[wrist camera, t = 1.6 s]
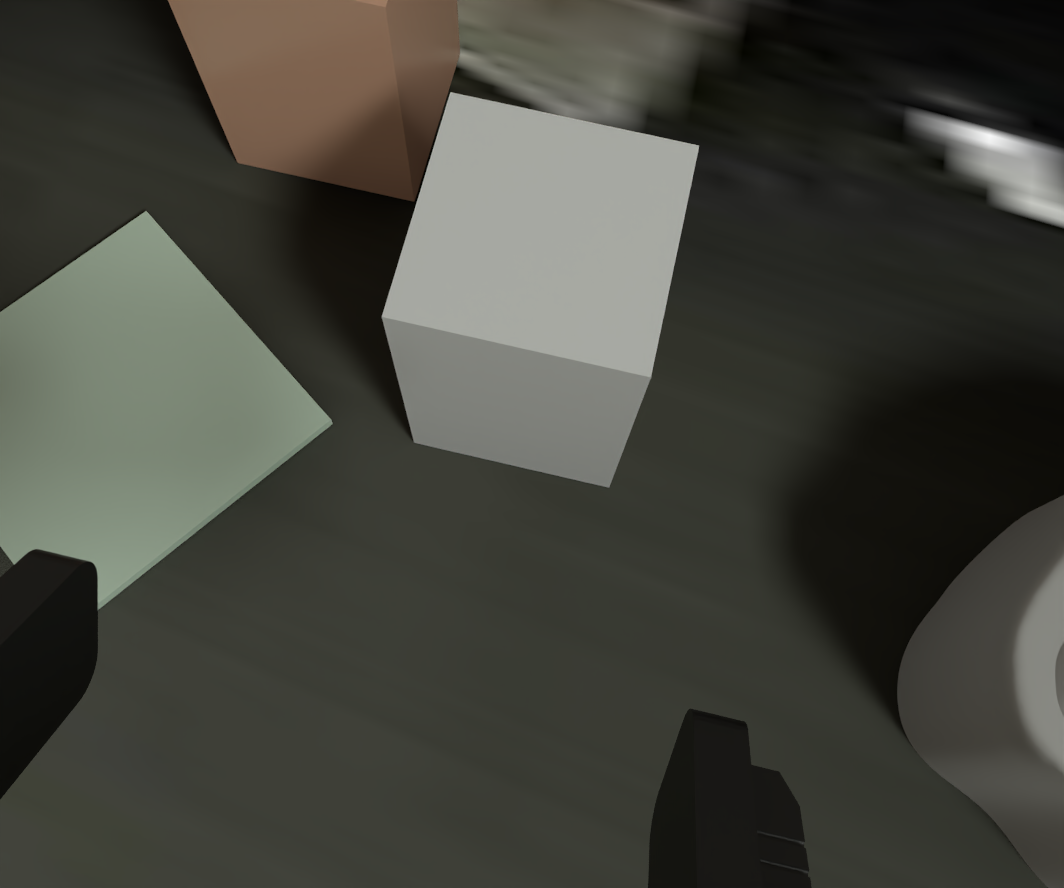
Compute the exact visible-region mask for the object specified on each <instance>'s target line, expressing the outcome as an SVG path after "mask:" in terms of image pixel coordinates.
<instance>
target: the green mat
mask: <svg viewBox="0 0 1064 888" xmlns="http://www.w3.org/2000/svg"><path fill="white" fill-rule="evenodd" d="M332 424H333V423H332V421H331V419H330V418H329V417H328V416H327V415H326V413H325V412H324V411H323V410H322V409H321V408H320V407H319V406H318V404H317V403H316V402H315V401H314V400H313V399H312V398H311V397H310V395H309V394H308V393H307V392H306V391H305V390H304V389H303V387H302V386H301V385H300V384H299V383H298V382H297V381H296V380H295V378H294V377H293V376H292V375H291V374H290V373H289V372H288V371H287V369H286V368H285V367H284V366H283V365H282V364H281V363H280V362H279V360H278V359H277V358H276V357H275V356H274V355H273V354H272V352H271V351H270V350H269V349H268V348H267V347H266V346H265V345H264V343H263V342H262V341H261V340H260V339H259V338H258V337H257V336H256V334H255V333H254V332H253V331H252V330H251V329H250V328H249V327H248V325H247V324H246V323H245V322H244V321H243V320H242V319H241V317H240V316H239V315H238V314H237V313H236V312H235V311H234V310H233V308H232V307H231V306H230V305H229V304H228V303H227V302H226V301H225V299H224V298H223V297H222V296H221V295H220V294H219V293H218V291H217V290H216V289H215V288H214V287H213V286H212V285H211V284H210V282H209V281H208V280H207V279H206V278H205V277H204V276H203V275H202V273H201V272H200V271H199V270H198V269H197V268H196V267H195V266H194V264H193V263H192V262H191V261H190V260H189V259H188V258H187V256H186V255H185V254H184V253H183V252H182V251H181V250H180V249H179V247H178V246H177V245H176V244H175V243H174V242H173V241H172V240H171V238H170V237H169V236H168V235H167V234H166V233H165V232H164V231H163V229H162V228H161V227H160V226H159V225H158V224H157V223H156V221H155V220H154V219H153V218H152V217H151V216H150V215H149V214H148V212H147V211H145V212H144V213H142V214H141V215H140V216H138V217H137V218H135V219H134V220H132V221H131V222H129V223H128V224H127V225H125V226H124V227H122V228H121V229H119V230H118V231H117V232H115V233H114V234H112V235H111V236H109V237H108V238H106V239H105V240H104V241H102V242H101V243H99V244H98V245H96V246H95V247H93V248H92V249H91V250H89V251H88V252H86V253H85V254H83V255H82V256H80V257H79V258H78V259H76V260H75V261H73V262H72V263H70V264H69V265H68V266H66V267H65V268H63V269H62V270H60V271H59V272H57V273H56V274H55V275H53V276H52V277H50V278H49V279H47V280H46V281H44V282H43V283H42V284H40V285H39V286H37V287H36V288H34V289H33V290H32V291H30V292H29V293H27V294H26V295H24V296H23V297H21V298H20V299H19V300H17V301H16V302H14V303H13V304H11V305H10V306H8V307H7V308H6V309H4V310H3V311H1V312H0V547H1V548H2V549H3V551H4V552H5V553H6V554H7V556H8V557H9V558H10V560H11V561H12V562H13V564H14V565H15V564H16V563H17V562H18V561H19V560H20V559H21V558H22V557H23V556H24V555H26V554H27V553H28V552H30V551H32V550H34V549H40V550H44V551H49V552H53V553H57V554H61V555H65V556H69V557H73V558H77V559H82V560H86V561H90V562H92V563H93V564H94V565H95V567H96V569H97V575H98V609H100V608H101V607H102V606H104V605H105V604H106V603H107V602H109V601H110V600H111V599H112V598H114V597H115V596H116V595H117V594H119V593H120V592H121V591H122V590H124V589H125V588H126V587H128V586H129V585H130V584H131V583H133V582H134V581H135V580H136V579H138V578H139V577H140V576H141V575H143V574H144V573H145V572H146V571H148V570H149V569H150V568H152V567H153V566H154V565H155V564H157V563H158V562H159V561H160V560H162V559H163V558H164V557H165V556H167V555H168V554H169V553H170V552H172V551H173V550H174V549H175V548H177V547H178V546H179V545H181V544H182V543H183V542H184V541H186V540H187V539H188V538H189V537H191V536H192V535H193V534H194V533H196V532H197V531H198V530H199V529H201V528H202V527H203V526H205V525H206V524H207V523H208V522H210V521H211V520H212V519H213V518H215V517H216V516H217V515H218V514H220V513H221V512H222V511H223V510H225V509H226V508H227V507H229V506H230V505H231V504H232V503H234V502H235V501H236V500H237V499H239V498H240V497H241V496H242V495H244V494H245V493H246V492H247V491H249V490H250V489H251V488H252V487H254V486H255V485H256V484H258V483H259V482H260V481H261V480H263V479H264V478H265V477H266V476H268V475H269V474H270V473H271V472H273V471H274V470H275V469H276V468H278V467H279V466H280V465H282V464H283V463H284V462H285V461H287V460H288V459H289V458H290V457H292V456H293V455H294V454H295V453H297V452H298V451H299V450H300V449H302V448H303V447H304V446H305V445H307V444H308V443H309V442H311V441H312V440H313V439H314V438H316V437H317V436H318V435H319V434H321V433H322V432H323V431H324V430H326V429H327V428H328V427H329V426H331V425H332Z"/></svg>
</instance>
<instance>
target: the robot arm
mask: <svg viewBox="0 0 1064 888" xmlns="http://www.w3.org/2000/svg"><path fill="white" fill-rule="evenodd" d="M97 653H98V575H97V569H96V567H95V565H94V564H93V563H92V562H90V561H86V560H82V559H77V558H73V557H69V556H65V555H61V554H57V553H53V552H49V551H44V550H40V549H34V550H32V551H30V552H28V553H27V554H26V555H24V556H23V557H22V558H21V559H20V560H19V561H18V562H17V563H16V564H15V565H13V566H12V567H11V568H10V569H9V570H8V571H7V572H6V573H5V574H4V575H2V576H1V577H0V799H1V798H2V796H3V795H4V794H5V793H6V792H7V790H8V789H9V788H10V787H11V785H12V784H13V783H14V782H15V780H16V779H17V778H18V777H19V775H20V774H21V773H22V772H23V770H24V769H25V768H26V767H27V765H28V764H29V763H30V762H31V761H32V759H33V758H34V757H35V756H36V754H37V753H38V752H39V751H40V749H41V748H42V747H43V746H44V744H45V743H46V742H47V741H48V739H49V738H50V737H51V736H52V734H53V733H54V732H55V731H56V729H57V728H58V727H59V726H60V725H61V723H62V722H63V721H64V720H65V718H66V717H67V716H68V715H69V713H70V712H71V711H72V710H73V708H74V707H75V706H76V705H77V703H78V702H79V701H80V699H81V698H82V697H83V695H84V693H85V692H86V690H87V688H88V686H89V683H90V681H91V679H92V676H93V673H94V670H95V666H96V661H97ZM804 842H805V839H804V832H803V826H802V819H801V812H800V806H799V804H798V802H797V801H796V799H795V797H794V796H793V794H792V792H791V791H790V789H789V787H788V786H787V784H786V782H785V781H784V779H783V777H782V776H781V774H780V772H778V771H774V770H770V769H766V768H762V767H758V766H753V765H751V758H750V747H749V736H748V728H747V724H746V723H745V722H744V721H740V720H735V719H731V718H727V717H723V716H719V715H715V714H711V713H706V712H702V711H698V710H694V709H689V710H688V711H687V713H686V715H685V717H684V720H683V723H682V726H681V728H680V731H679V734H678V737H677V740H676V743H675V746H674V749H673V752H672V755H671V758H670V761H669V763H668V766H667V769H666V772H665V775H664V778H663V781H662V784H661V787H660V790H659V793H658V796H657V800H656V804H655V808H654V813H653V819H652V825H651V833H650V847H649V879H648V888H811V881H810V877H808V872H809V867H808V860H807V853H806V848H804Z"/></svg>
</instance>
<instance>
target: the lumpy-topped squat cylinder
mask: <svg viewBox="0 0 1064 888" xmlns="http://www.w3.org/2000/svg"><path fill="white" fill-rule="evenodd" d="M897 699H898V709H899V715H900V719H901V723H902V726H903V729H904V731H905V734H906V736H907V738H908V740H909V741H910V743H911V745H912V746H913V748H914V749H915V750H916V752H917V753H918V754H919V755H920V757H921V758H922V759H923V760H924V761H925V762H926V763H927V764H928V765H929V766H930V767H931V768H932V769H933V770H935V771H936V772H937V773H938V774H939V775H940V776H942V777H943V778H944V779H946V780H947V781H948V782H949V783H951V784H952V785H953V786H955V787H956V788H957V789H959V790H960V791H961V792H963V793H964V794H965V795H967V796H968V797H969V798H970V799H972V800H973V801H974V802H975V803H976V804H977V805H979V806H980V807H981V808H982V809H983V810H984V811H985V812H986V813H987V814H988V815H989V816H990V817H991V818H992V819H993V820H994V822H995V823H996V824H997V825H998V826H999V827H1000V829H1001V830H1002V831H1003V832H1004V834H1005V835H1006V836H1007V838H1008V839H1009V840H1010V842H1011V843H1012V844H1013V846H1014V847H1015V849H1016V850H1017V851H1018V853H1019V854H1020V855H1021V857H1022V858H1023V859H1024V861H1025V862H1026V863H1027V865H1028V866H1029V867H1030V868H1031V870H1032V871H1033V872H1034V873H1035V874H1036V875H1037V877H1038V878H1039V879H1040V880H1041V881H1042V882H1043V883H1044V884H1045V885H1046V886H1047V887H1048V888H1064V495H1063V496H1061V497H1059V498H1057V499H1055V500H1053V501H1051V502H1049V503H1047V504H1045V505H1043V506H1041V507H1039V508H1037V509H1035V510H1033V511H1031V512H1029V513H1027V514H1026V515H1024V516H1022V517H1021V518H1020V519H1018V520H1017V521H1016V522H1014V523H1013V524H1012V525H1011V526H1009V527H1008V528H1007V529H1006V530H1005V531H1003V532H1002V533H1001V534H1000V535H999V536H998V537H996V538H995V539H994V540H993V541H992V542H991V543H990V544H989V545H988V546H987V547H986V548H985V549H983V550H982V551H981V552H980V553H979V554H978V555H977V556H976V557H975V558H974V559H973V560H972V561H971V562H970V563H969V564H968V565H967V566H966V567H965V569H964V570H963V571H962V572H961V573H960V574H959V575H958V576H957V577H956V578H955V579H954V581H953V582H952V583H951V584H950V585H949V587H948V588H947V589H946V590H945V592H944V593H943V595H942V596H941V597H940V599H939V600H938V601H937V603H936V604H935V605H934V606H933V608H932V609H931V610H930V611H929V613H928V614H927V615H926V616H925V618H924V619H923V620H922V622H921V623H920V624H919V626H918V627H917V629H916V630H915V632H914V634H913V635H912V637H911V639H910V641H909V643H908V645H907V647H906V650H905V652H904V655H903V658H902V661H901V665H900V669H899V675H898V685H897Z"/></svg>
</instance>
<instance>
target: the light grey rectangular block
mask: <svg viewBox="0 0 1064 888" xmlns="http://www.w3.org/2000/svg"><path fill="white" fill-rule="evenodd" d="M698 149H699V146H698V145H694V144H689V143H684V142H680V141H675V140H670V139H666V138H661V137H656V136H652V135H647V134H642V133H638V132H633V131H628V130H624V129H619V128H614V127H610V126H605V125H601V124H596V123H591V122H587V121H582V120H577V119H573V118H568V117H563V116H559V115H554V114H549V113H545V112H540V111H535V110H531V109H526V108H521V107H517V106H512V105H507V104H503V103H498V102H494V101H489V100H484V99H480V98H475V97H470V96H466V95H461V94H456V93H452V92H450V95H449V99H448V102H447V105H446V108H445V112H444V115H443V118H442V121H441V125H440V128H439V131H438V134H437V138H436V141H435V144H434V148H433V151H432V154H431V157H430V161H429V164H428V167H427V170H426V174H425V177H424V180H423V183H422V187H421V190H420V193H419V197H418V200H417V203H416V206H415V210H414V213H413V216H412V219H411V223H410V226H409V229H408V232H407V236H406V239H405V242H404V246H403V249H402V252H401V255H400V259H399V262H398V265H397V268H396V272H395V275H394V278H393V281H392V285H391V288H390V291H389V295H388V298H387V301H386V304H385V308H384V311H383V314H382V320H383V324H384V328H385V332H386V335H387V339H388V343H389V347H390V351H391V355H392V359H393V363H394V367H395V370H396V374H397V378H398V382H399V386H400V390H401V394H402V398H403V401H404V405H405V409H406V413H407V417H408V421H409V425H410V429H411V433H412V436H413V440H414V443H418V444H422V445H426V446H431V447H435V448H439V449H444V450H448V451H452V452H457V453H461V454H465V455H470V456H474V457H478V458H483V459H487V460H491V461H496V462H500V463H504V464H509V465H513V466H518V467H522V468H526V469H531V470H535V471H539V472H544V473H548V474H552V475H557V476H561V477H565V478H570V479H574V480H578V481H583V482H587V483H591V484H596V485H600V486H604V487H609V486H610V484H611V481H612V478H613V476H614V473H615V470H616V468H617V465H618V463H619V460H620V457H621V455H622V452H623V449H624V447H625V444H626V441H627V439H628V436H629V434H630V431H631V428H632V426H633V423H634V420H635V418H636V415H637V412H638V410H639V407H640V405H641V402H642V399H643V397H644V394H645V391H646V389H647V386H648V383H649V381H650V378H651V374H652V369H653V365H654V360H655V355H656V350H657V345H658V341H659V336H660V331H661V326H662V321H663V317H664V312H665V307H666V302H667V298H668V293H669V288H670V283H671V278H672V274H673V269H674V264H675V259H676V254H677V250H678V245H679V240H680V235H681V231H682V226H683V221H684V216H685V211H686V207H687V202H688V197H689V192H690V187H691V183H692V178H693V173H694V168H695V164H696V159H697V154H698Z"/></svg>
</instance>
